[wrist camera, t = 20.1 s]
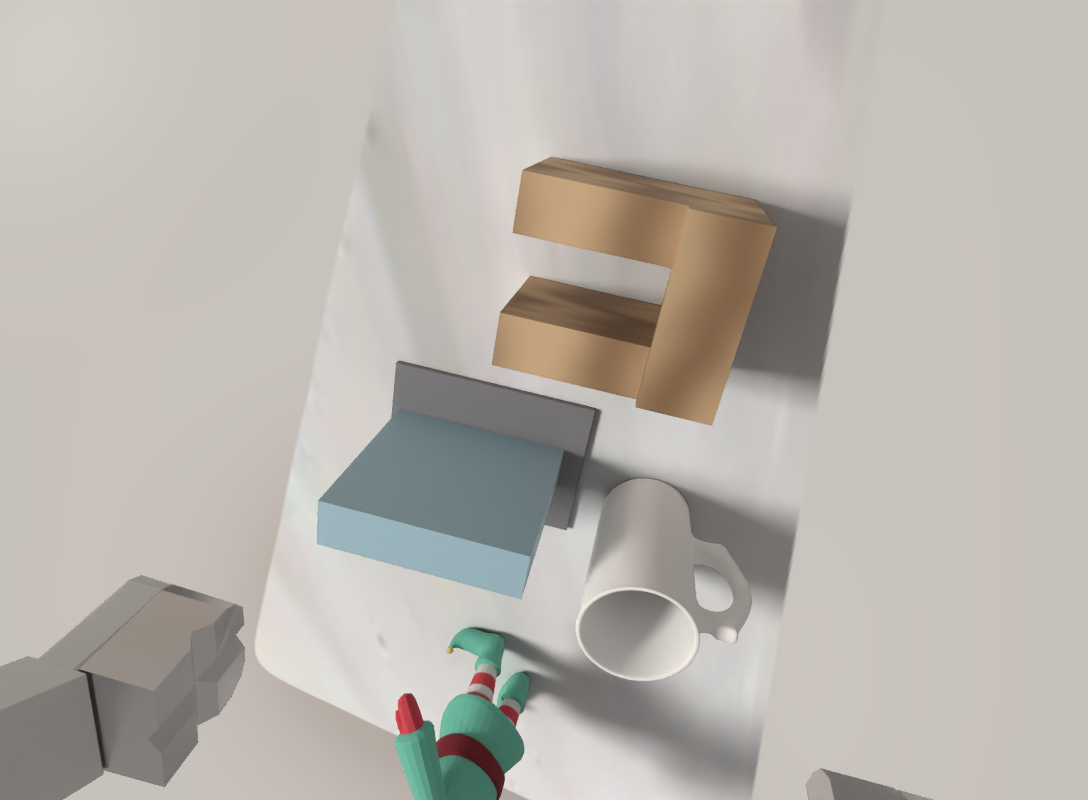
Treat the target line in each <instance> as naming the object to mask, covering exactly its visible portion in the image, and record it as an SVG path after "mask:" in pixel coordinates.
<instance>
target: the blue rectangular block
mask: <svg viewBox="0 0 1088 800" xmlns="http://www.w3.org/2000/svg"><path fill="white" fill-rule="evenodd" d="M563 453H564V450H563V449H559V448H555V447H551V446H547V445H543V444H539V443H534V442H530V441H526V440H522V439H518V438H514V437H510V436H506V435H502V434H498V433H494V432H490V431H486V430H482V429H478V428H474V427H470V426H466V425H462V424H458V423H454V422H450V421H446V420H442V419H438V418H434V417H430V416H426V415H422V414H418V413H414V412H410V411H406V410H402V409H399V410H398V412H397V413H396V414H395V415H394V416H393V417H392V418H391V419H390V421H389V422H388V423H387V424H386V425H385V426H384V427H383V428H382V430H381V431H380V432H379V433H378V434H377V435H376V436H375V438H374V439H373V440H372V441H371V442H370V443H369V444H368V445H367V447H366V448H365V449H364V450H363V451H362V452H361V453H360V454H359V456H358V457H357V458H356V459H355V460H354V461H353V462H352V463H351V465H350V466H349V467H348V468H347V469H346V470H345V471H344V472H343V474H342V475H341V476H340V477H339V478H338V479H337V480H336V481H335V483H334V484H333V485H332V486H331V487H330V488H329V489H328V490H327V492H326V493H325V494H324V495H323V496H322V497H321V498H320V499H319V501H318V525H317V544H319V545H323V546H326V547H330V548H334V549H337V550H341V551H345V552H349V553H352V554H356V555H360V556H363V557H367V558H371V559H374V560H378V561H382V562H385V563H389V564H393V565H397V566H400V567H404V568H408V569H411V570H415V571H419V572H422V573H426V574H430V575H434V576H437V577H441V578H445V579H448V580H452V581H456V582H459V583H463V584H467V585H470V586H474V587H478V588H482V589H485V590H489V591H493V592H496V593H500V594H504V595H507V596H511V597H515V598H518V599H522V595H523V592H524V589H525V586H526V582H527V579H528V576H529V573H530V569H531V566H532V563H533V560H534V556H535V553H536V550H537V547H538V543H539V540H540V537H541V534H542V530H543V527H544V524H545V521H546V517H547V514H548V511H549V508H550V504H551V501H552V498H553V495H554V491H555V488H556V485H557V480H558V476H559V471H560V467H561V462H562V458H563Z"/></svg>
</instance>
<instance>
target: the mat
mask: <svg viewBox="0 0 1088 800" xmlns="http://www.w3.org/2000/svg"><path fill="white" fill-rule="evenodd" d="M399 409H402V410H406V411H410V412H414V413H418V414H422V415H426V416H430V417H434V418H438V419H442V420H446V421H450V422H454V423H458V424H462V425H466V426H470V427H474V428H478V429H482V430H486V431H490V432H494V433H498V434H502V435H506V436H510V437H514V438H518V439H522V440H526V441H530V442H534V443H539V444H543V445H547V446H551V447H555V448H559V449H563V450H564V453H563V458H562V462H561V467H560V471H559V476H558V480H557V485H556V488H555V491H554V495H553V498H552V501H551V504H550V508H549V511H548V514H547V517H546V521H545V524H544V525H548V526H552V527H556V528H560V529H563V530H567V526H568V522H569V518H570V514H571V509H572V505H573V501H574V497H575V493H576V489H577V484H578V480H579V476H580V472H581V468H582V464H583V459H584V455H585V451H586V447H587V443H588V438H589V434H590V430H591V426H592V422H593V418H594V413H595V409H596V408H591V407H587V406H583V405H579V404H575V403H571V402H567V401H563V400H558V399H554V398H550V397H546V396H542V395H538V394H534V393H530V392H525V391H521V390H517V389H513V388H509V387H505V386H501V385H497V384H492V383H488V382H484V381H480V380H476V379H472V378H468V377H464V376H459V375H455V374H451V373H447V372H443V371H439V370H435V369H431V368H426V367H422V366H418V365H414V364H410V363H406V362H402V361H398V362H397V363H396V372H395V384H394V395H393V407H392V417H393V416H394V415H395V414H396V413H397V412H398V410H399Z"/></svg>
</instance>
